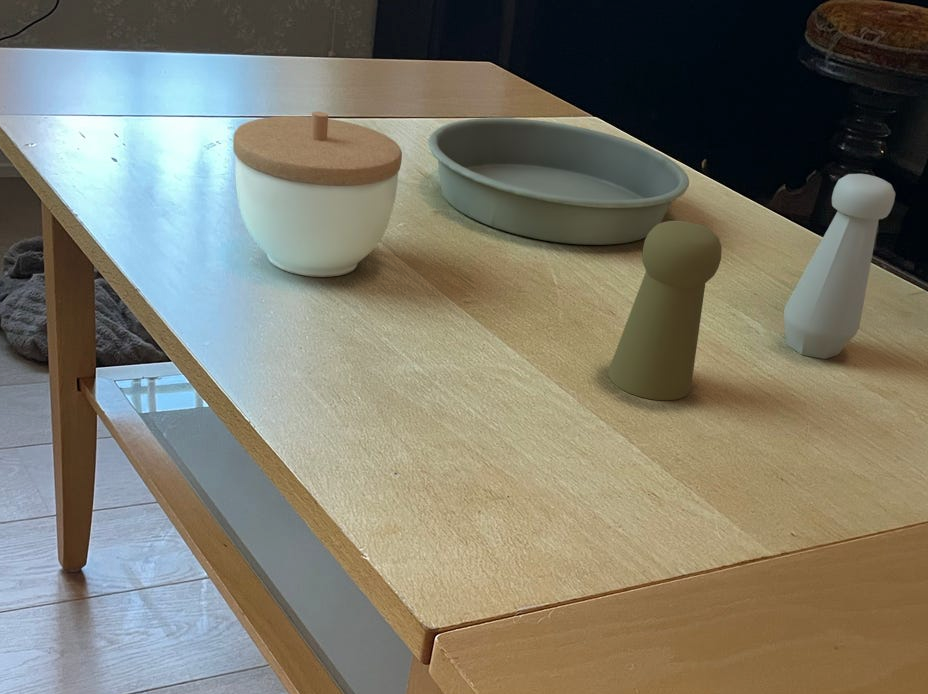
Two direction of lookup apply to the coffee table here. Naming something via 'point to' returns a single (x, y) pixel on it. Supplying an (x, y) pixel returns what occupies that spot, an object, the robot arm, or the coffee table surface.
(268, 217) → the lidded bowl
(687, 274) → the olive pawn figure
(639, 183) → the cake pan
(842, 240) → the salt shaker
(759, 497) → the coffee table surface
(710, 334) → the coffee table surface
